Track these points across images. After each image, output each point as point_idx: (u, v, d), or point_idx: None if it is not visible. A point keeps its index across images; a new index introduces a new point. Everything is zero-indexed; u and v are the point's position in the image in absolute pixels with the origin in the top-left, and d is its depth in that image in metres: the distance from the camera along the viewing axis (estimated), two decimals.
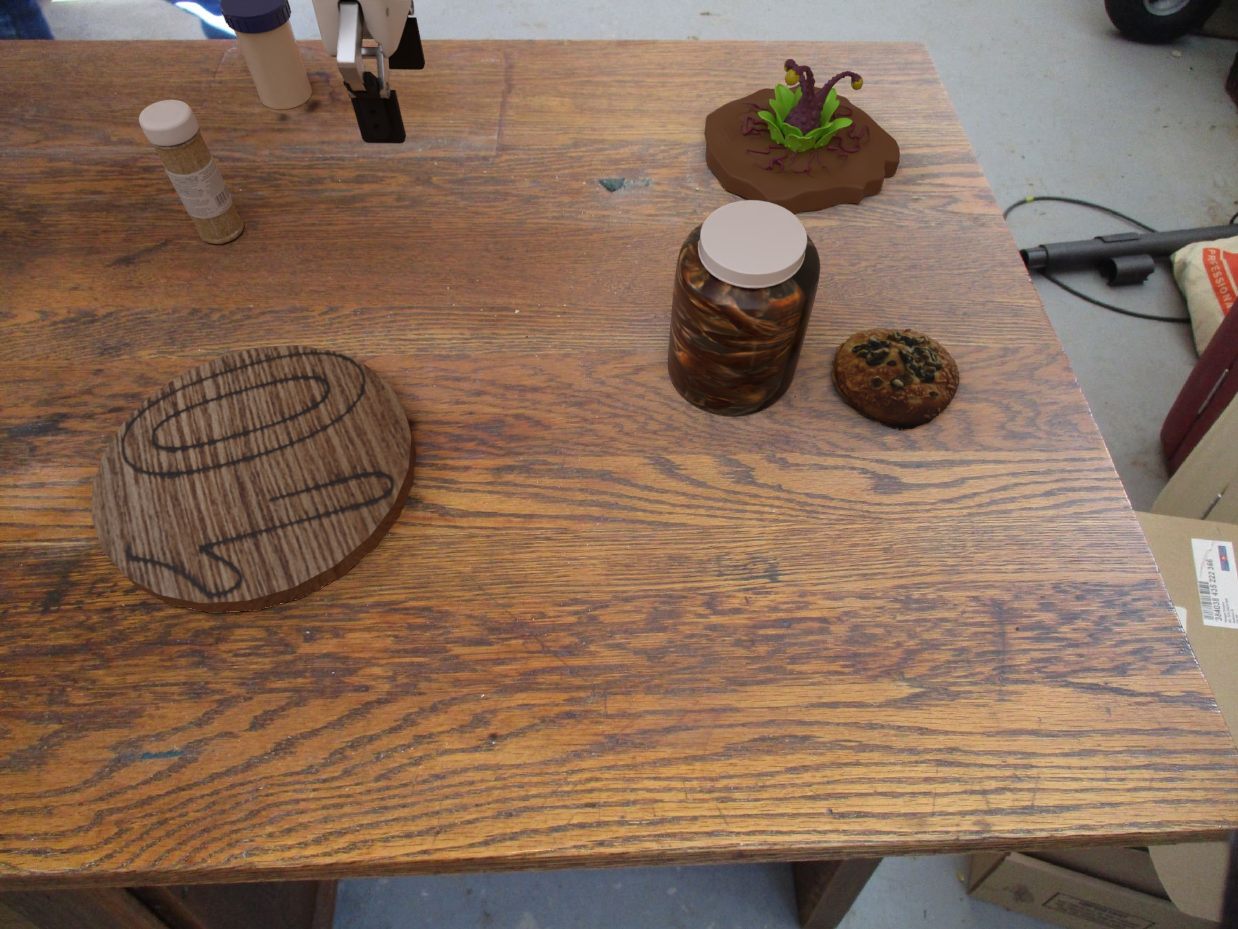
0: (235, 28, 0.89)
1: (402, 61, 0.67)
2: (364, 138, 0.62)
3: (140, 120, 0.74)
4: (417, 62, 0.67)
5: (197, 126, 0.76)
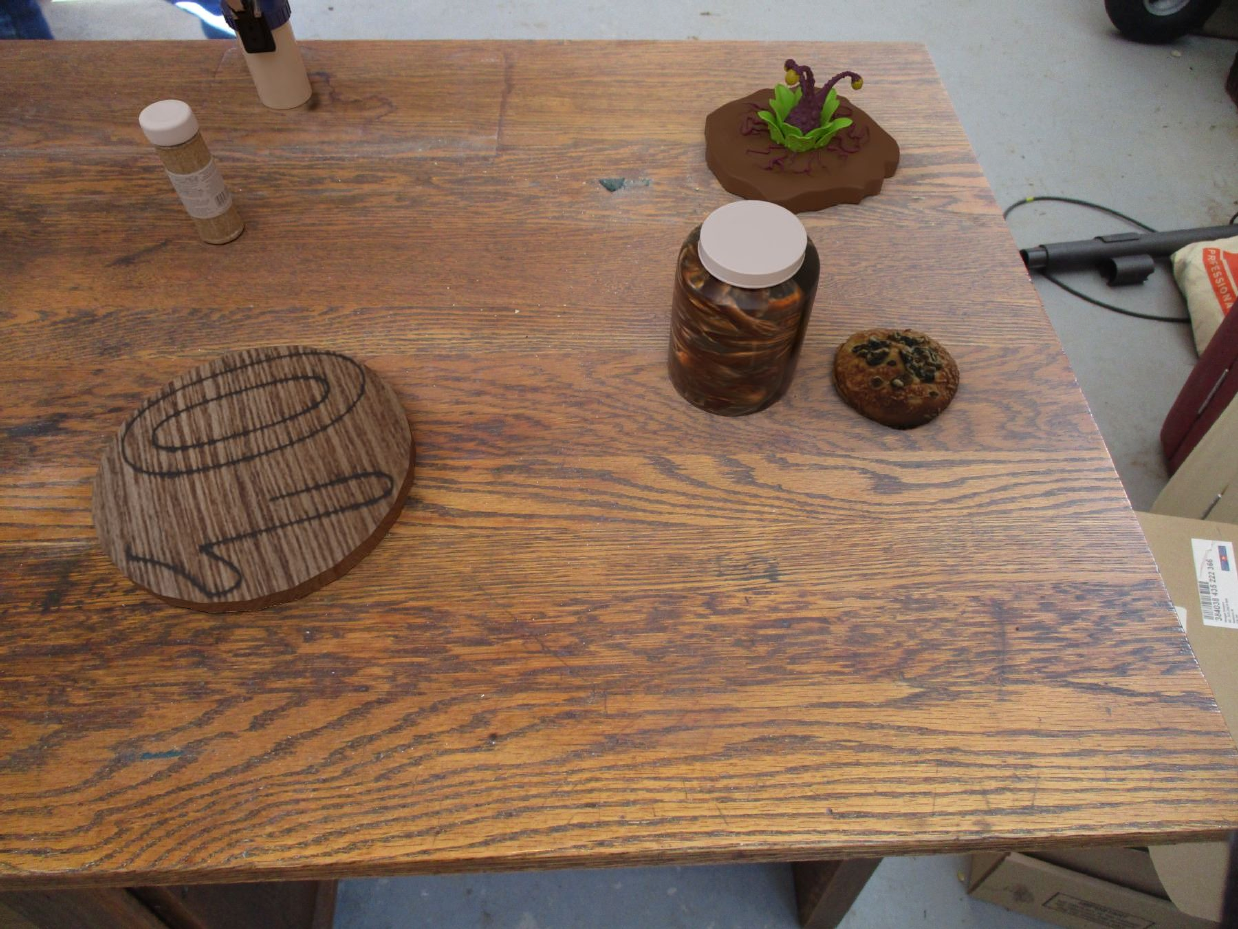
0: (235, 28, 0.89)
1: None
2: (246, 50, 0.90)
3: (140, 120, 0.74)
4: None
5: (197, 126, 0.76)
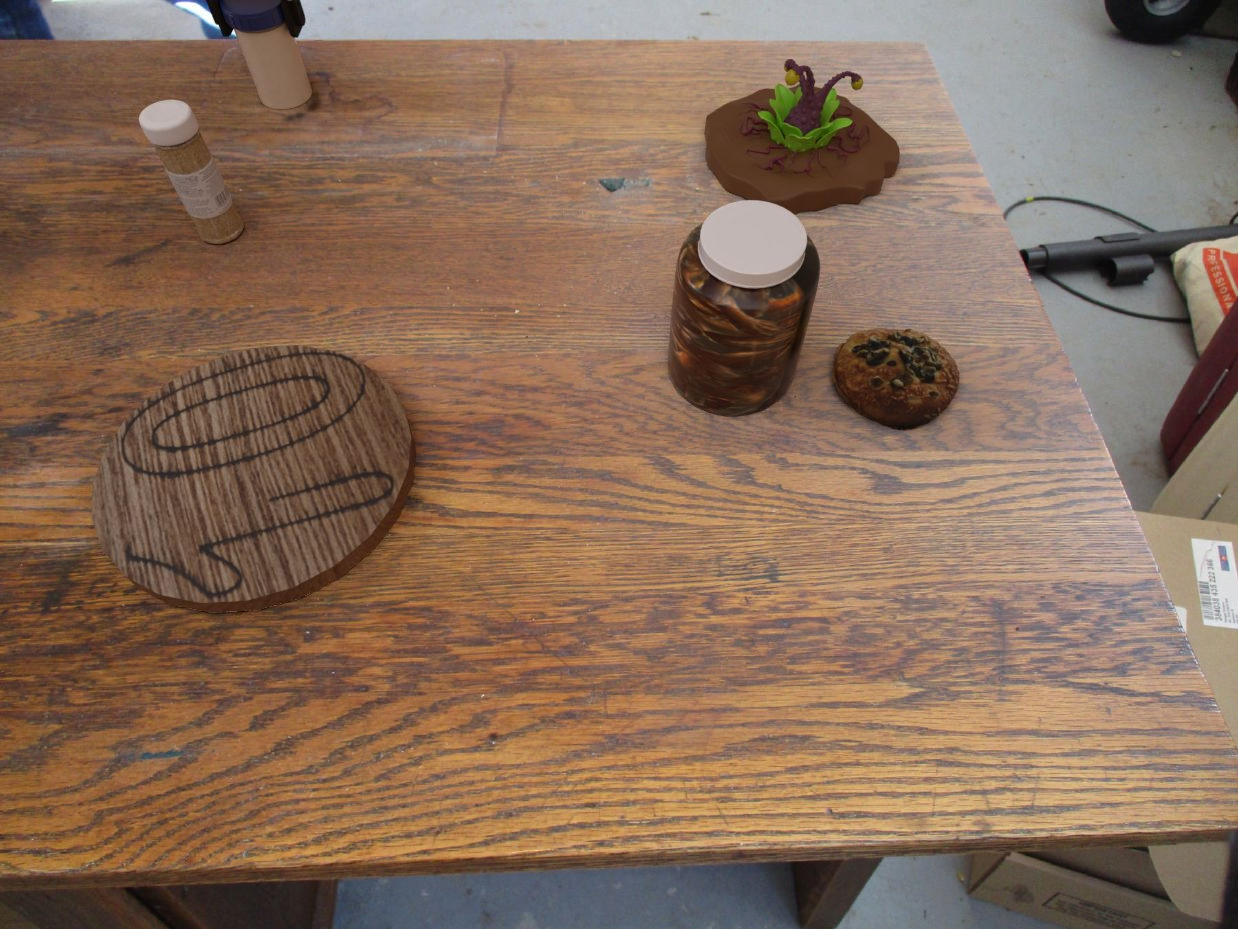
0: (277, 22, 0.89)
1: None
2: (296, 35, 0.91)
3: (140, 120, 0.74)
4: None
5: (197, 126, 0.76)
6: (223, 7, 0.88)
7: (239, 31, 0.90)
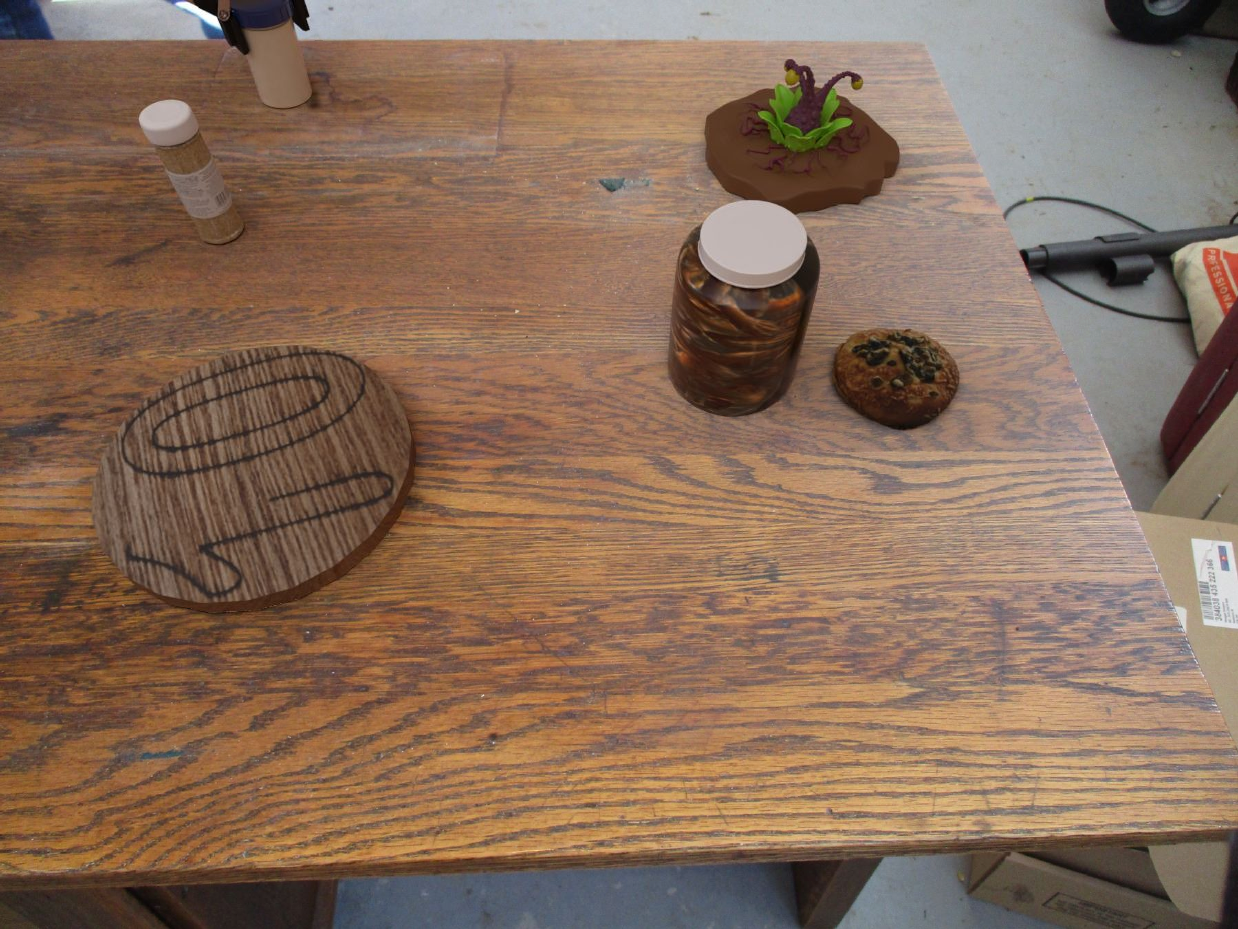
0: (292, 10, 0.91)
1: None
2: None
3: (140, 120, 0.74)
4: None
5: (197, 126, 0.76)
6: (242, 9, 0.88)
7: (242, 28, 0.90)
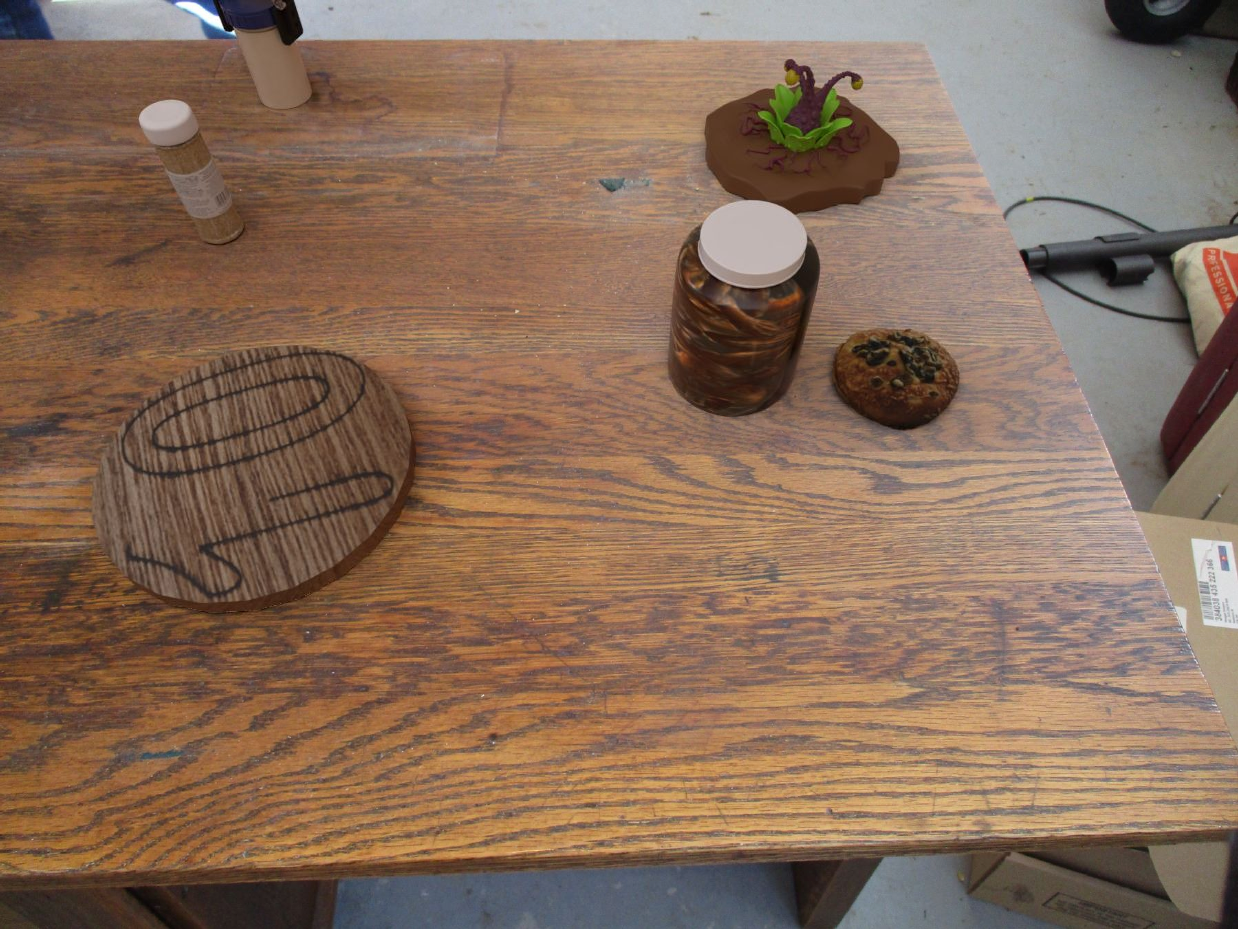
0: None
1: None
2: (287, 43, 0.91)
3: (140, 120, 0.74)
4: None
5: (197, 126, 0.76)
6: (254, 11, 0.88)
7: (239, 31, 0.90)
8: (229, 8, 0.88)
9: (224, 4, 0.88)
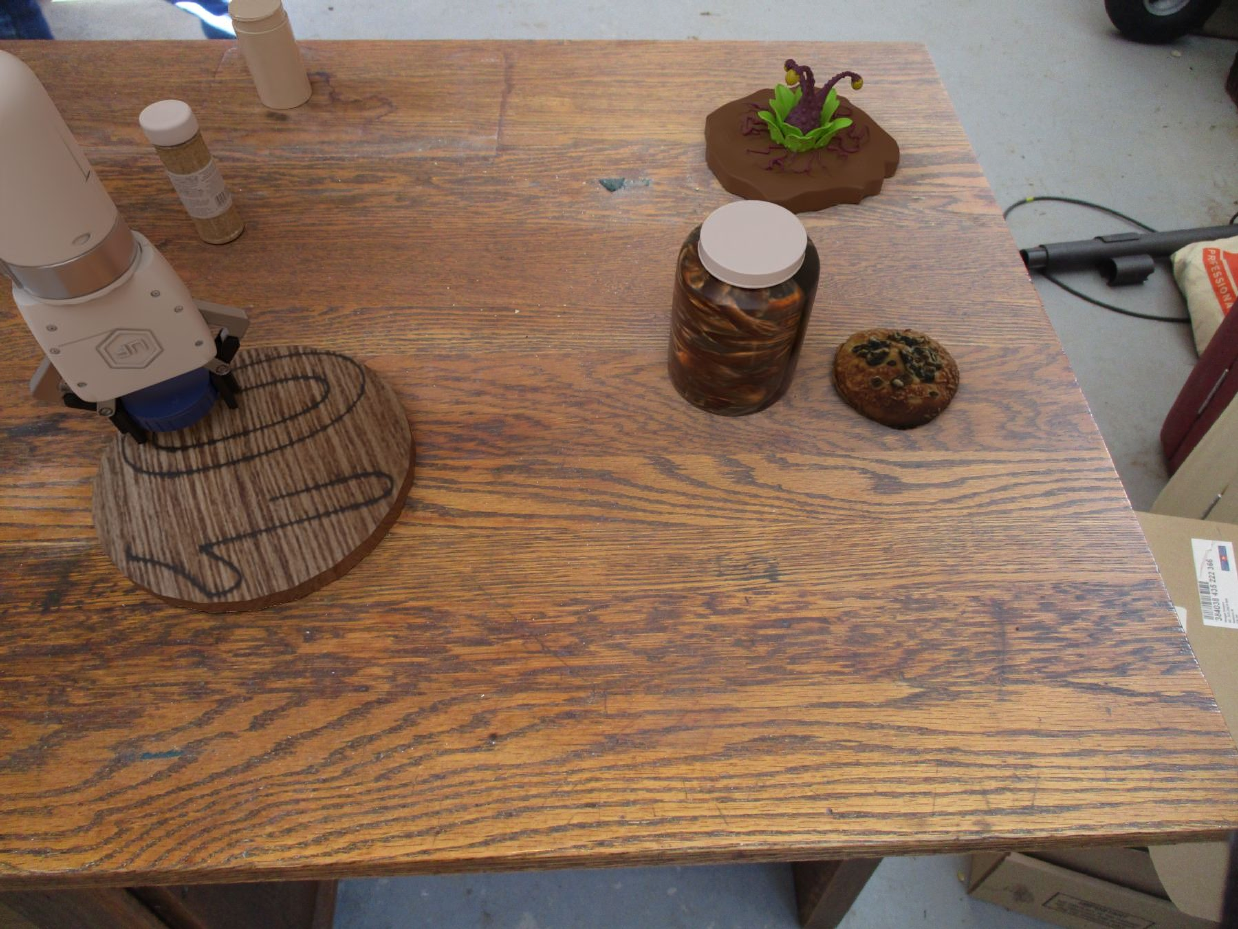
0: None
1: None
2: (237, 405, 0.70)
3: (140, 120, 0.74)
4: None
5: (197, 126, 0.76)
6: (199, 396, 0.66)
7: (239, 31, 0.90)
8: (164, 414, 0.64)
9: (150, 414, 0.64)
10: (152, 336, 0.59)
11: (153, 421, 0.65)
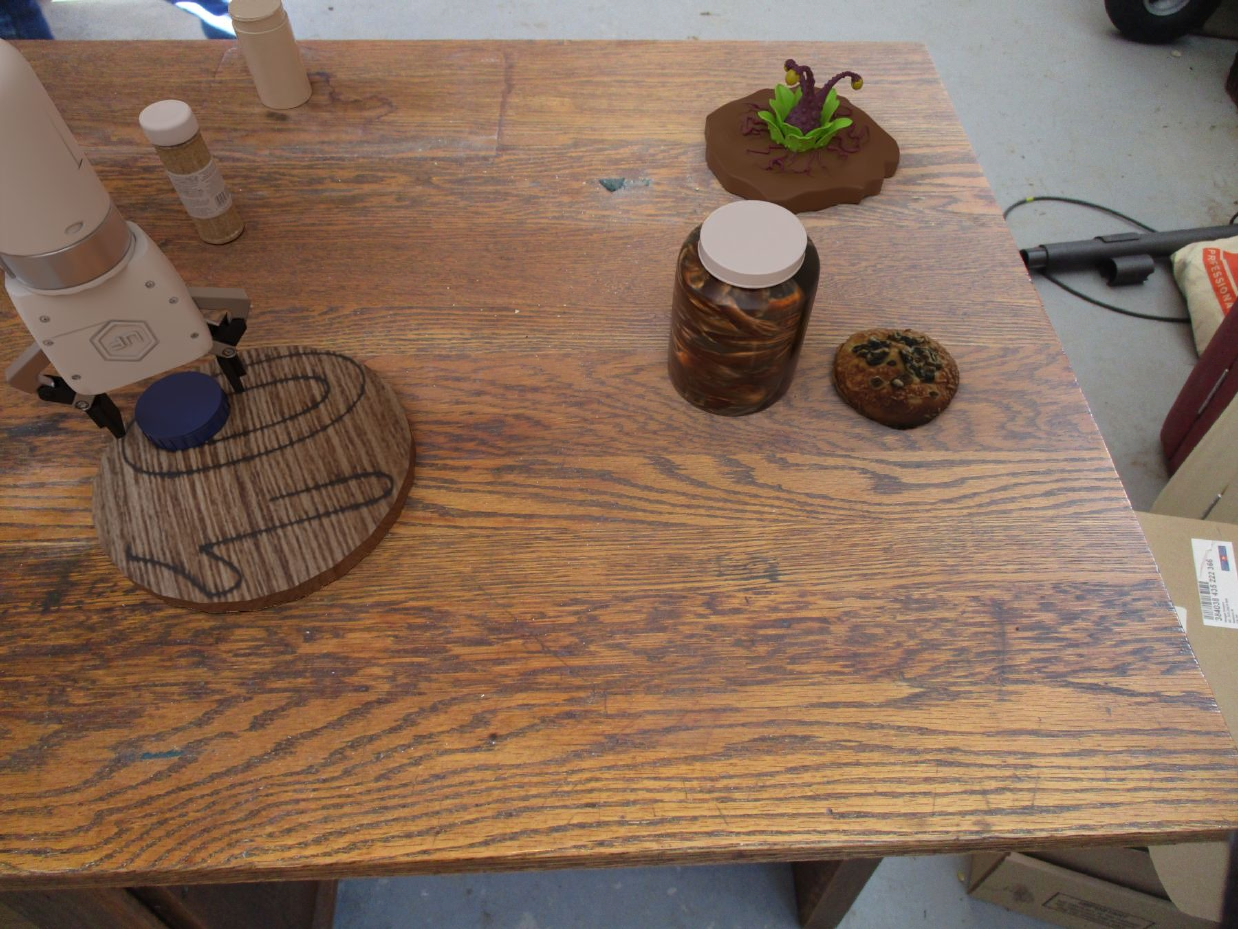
0: None
1: (119, 418, 0.66)
2: (244, 389, 0.69)
3: (140, 120, 0.74)
4: (116, 408, 0.67)
5: (197, 126, 0.76)
6: (211, 414, 0.67)
7: (239, 31, 0.90)
8: (177, 432, 0.66)
9: (164, 433, 0.66)
10: (147, 328, 0.58)
11: (167, 439, 0.66)
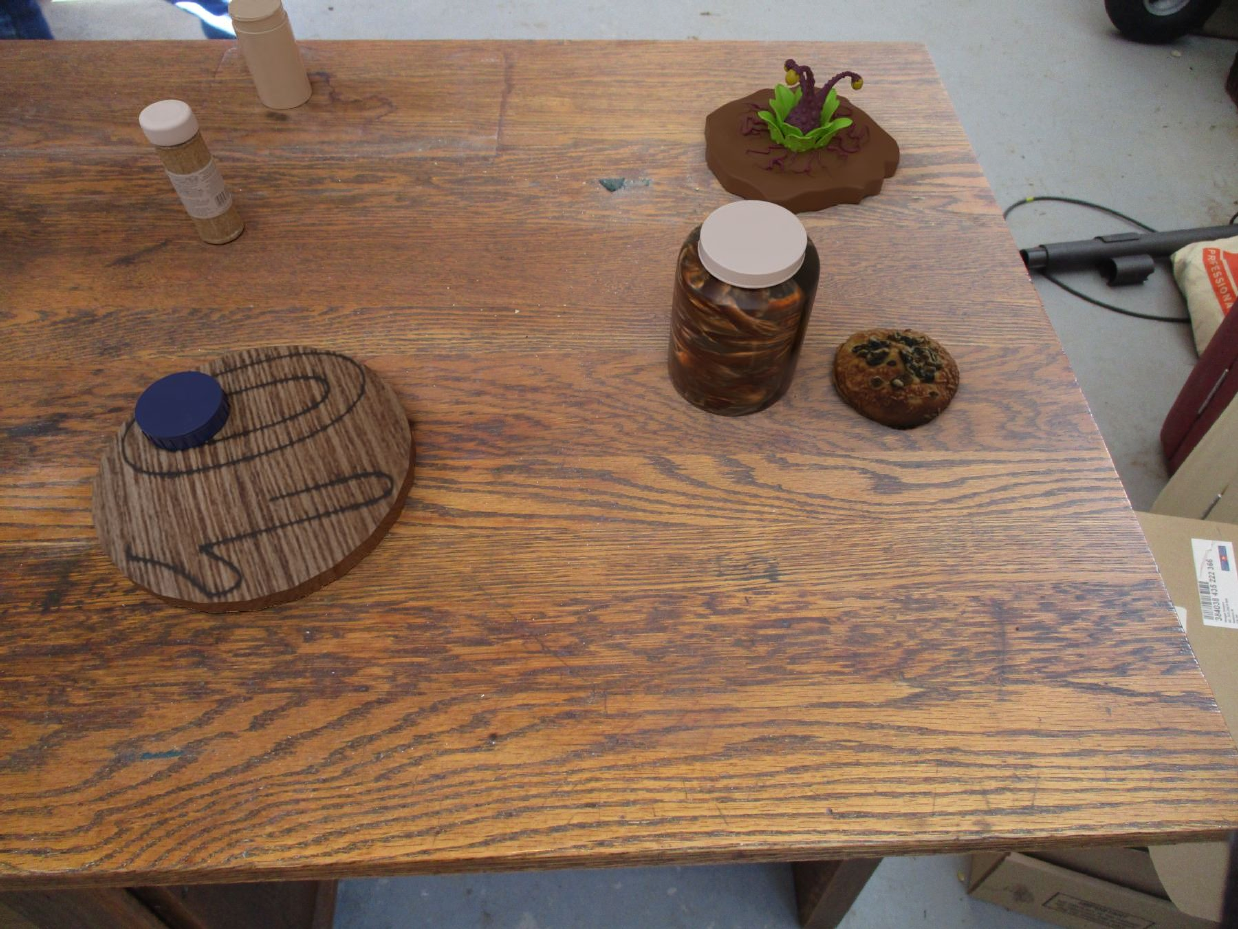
0: None
1: None
2: None
3: (140, 120, 0.74)
4: None
5: (197, 126, 0.76)
6: (211, 414, 0.67)
7: (239, 31, 0.90)
8: (177, 432, 0.66)
9: (164, 433, 0.66)
10: None
11: (167, 439, 0.66)
